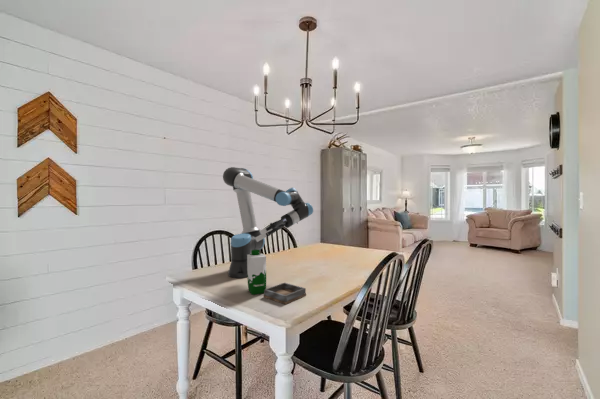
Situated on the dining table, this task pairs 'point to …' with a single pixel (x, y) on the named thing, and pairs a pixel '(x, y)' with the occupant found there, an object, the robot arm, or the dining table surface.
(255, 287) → the soya milk
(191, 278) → the dining table surface
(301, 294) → the dark gray tray
